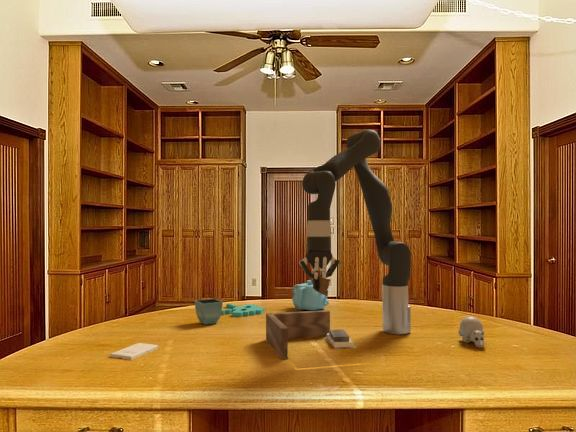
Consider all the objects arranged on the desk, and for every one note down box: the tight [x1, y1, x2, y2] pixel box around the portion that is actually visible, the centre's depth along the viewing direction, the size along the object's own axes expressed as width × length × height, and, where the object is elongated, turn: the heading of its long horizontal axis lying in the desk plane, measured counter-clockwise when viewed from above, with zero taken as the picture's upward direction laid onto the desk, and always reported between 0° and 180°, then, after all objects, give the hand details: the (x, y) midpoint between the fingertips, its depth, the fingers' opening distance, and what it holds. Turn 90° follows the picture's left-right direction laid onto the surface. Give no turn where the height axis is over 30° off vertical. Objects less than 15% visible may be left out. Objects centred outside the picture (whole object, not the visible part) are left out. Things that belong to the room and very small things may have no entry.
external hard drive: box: [109, 342, 159, 361], centre depth 131 cm, size 2×8×12 cm
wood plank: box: [309, 276, 331, 297], centre depth 132 cm, size 15×2×5 cm, turn 16°
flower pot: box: [194, 298, 224, 326], centre depth 170 cm, size 9×9×9 cm
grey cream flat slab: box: [322, 336, 358, 350], centre depth 140 cm, size 7×14×2 cm, turn 12°
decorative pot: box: [291, 279, 330, 311], centre depth 199 cm, size 16×16×14 cm
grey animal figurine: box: [457, 315, 485, 349], centre depth 140 cm, size 7×12×8 cm, turn 178°
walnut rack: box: [265, 309, 331, 360], centre depth 138 cm, size 22×22×9 cm
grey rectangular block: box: [329, 328, 350, 342], centre depth 140 cm, size 5×10×2 cm, turn 2°
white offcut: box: [326, 333, 354, 349], centre depth 141 cm, size 6×12×2 cm, turn 7°
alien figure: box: [221, 303, 266, 318], centre depth 193 cm, size 20×2×20 cm
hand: (319, 290), depth 132 cm, fingers closed on wood plank, 1 cm apart
